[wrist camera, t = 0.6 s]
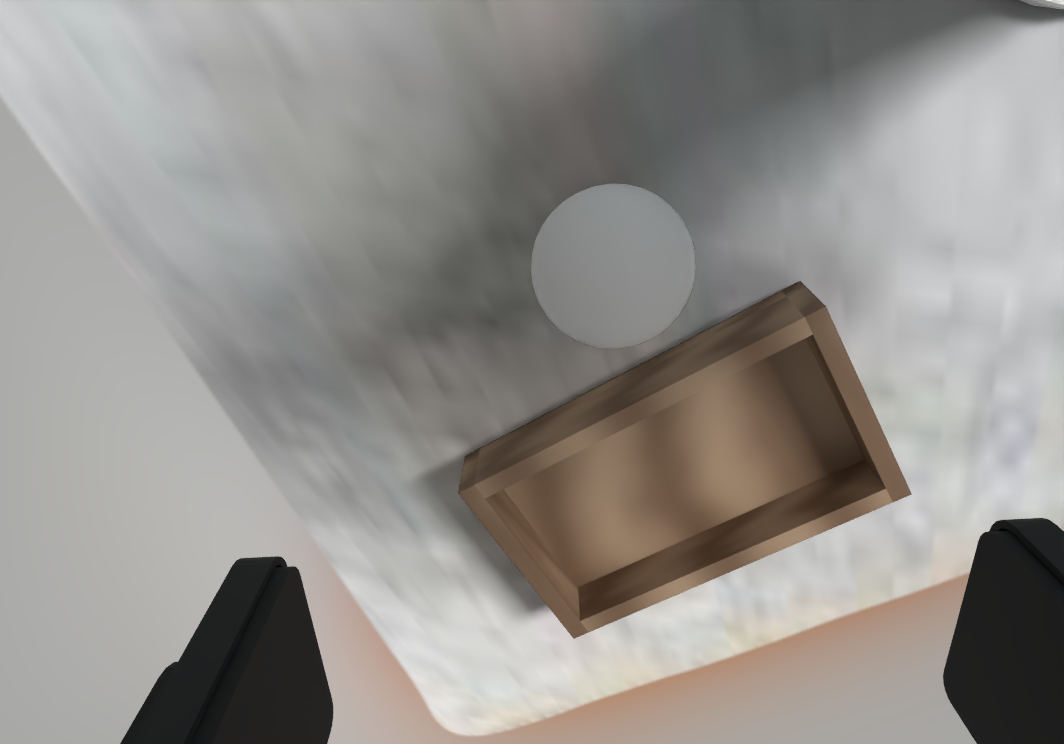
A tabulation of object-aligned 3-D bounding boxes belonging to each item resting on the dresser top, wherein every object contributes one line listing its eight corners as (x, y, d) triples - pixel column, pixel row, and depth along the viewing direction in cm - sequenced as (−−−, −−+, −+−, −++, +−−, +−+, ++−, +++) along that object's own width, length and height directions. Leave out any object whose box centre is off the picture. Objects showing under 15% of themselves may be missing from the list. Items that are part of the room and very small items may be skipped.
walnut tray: (800, 281, 35) (825, 306, 32) (881, 456, 39) (911, 494, 36) (465, 456, 40) (458, 493, 36) (571, 595, 44) (573, 638, 41)
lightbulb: (682, 175, 33) (743, 239, 23) (632, 293, 35) (667, 396, 25) (559, 131, 32) (565, 177, 22) (517, 255, 34) (506, 346, 24)
